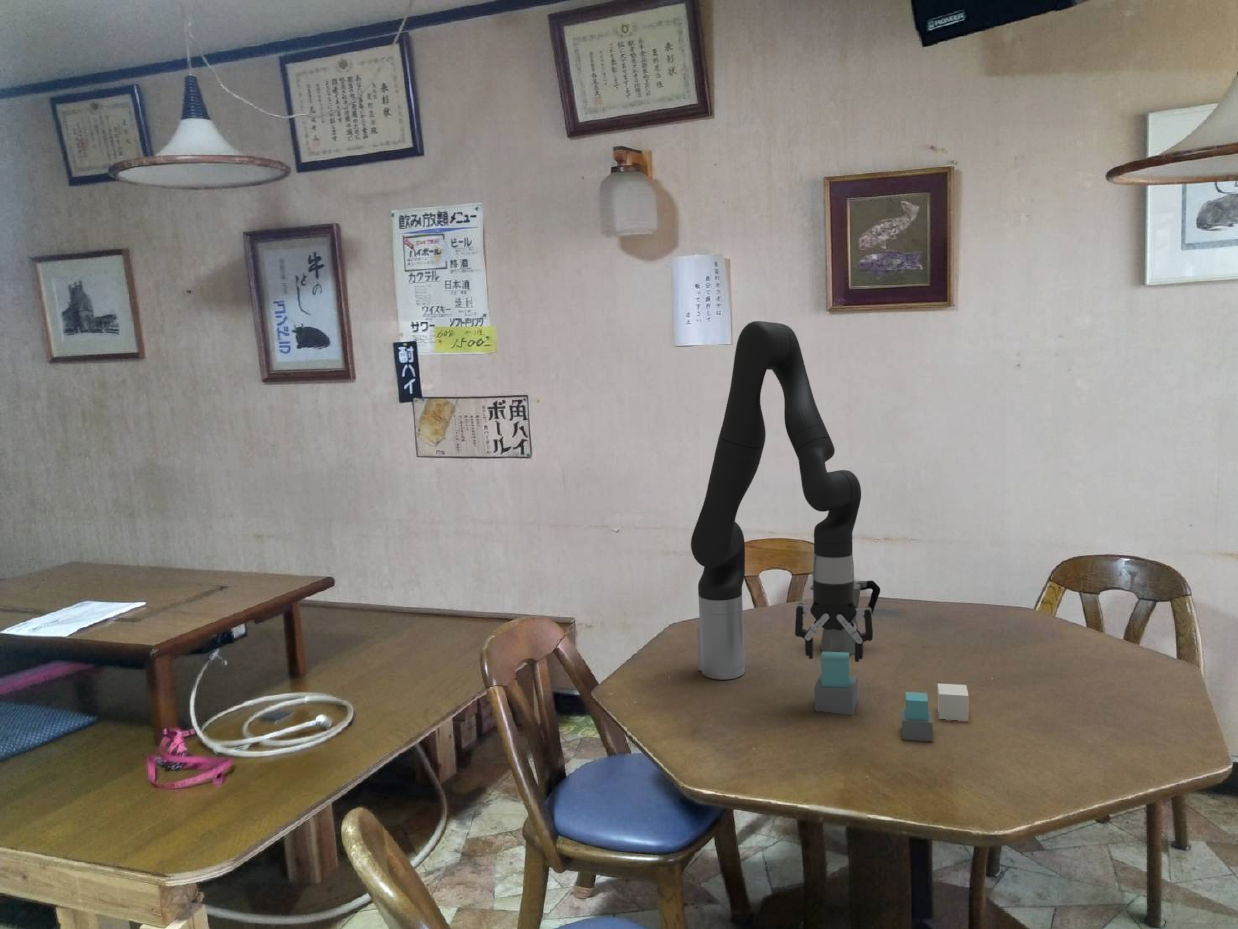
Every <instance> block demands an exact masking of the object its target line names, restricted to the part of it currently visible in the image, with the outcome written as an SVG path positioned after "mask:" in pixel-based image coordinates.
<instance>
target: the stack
mask: <svg viewBox="0 0 1238 929" xmlns="http://www.w3.org/2000/svg"><path fill="white" fill-rule="evenodd" d="M928 697H929V696H928V693H927V692H916V691H915V692H912V691H911V692H910V691H905V708H901V738H902V741H903V739H904V740H905V741H915V740H916V742H917V741H918V742H928V741H933V725H934V724H933V723H934V722H933V717H932V716H933V715H932V710H929V699H928Z"/></svg>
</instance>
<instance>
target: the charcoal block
mask: <svg viewBox="0 0 1238 929" xmlns="http://www.w3.org/2000/svg"><path fill="white" fill-rule="evenodd" d="M813 691H814V711H815V710H816V711H815V712H819V711H823V712H822V713H828V712H830V713H829V714H837V713H838V714H839V715H849V716H853V715H854V713H855V710H856V707H857V704H858V701H857V700H858V699H859V696H858V694H859V693H858V676H857V675H856V676H852V675H850V679H849V688H846V687H826V686H822V675H821V673H820V674H819V677H818V678H817V681H816V682H815V685H814V690H813ZM855 706H856V707H855ZM853 712H854V713H853Z"/></svg>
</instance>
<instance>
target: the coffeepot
mask: <svg viewBox="0 0 1238 929" xmlns="http://www.w3.org/2000/svg"><path fill="white" fill-rule="evenodd" d="M809 590H812V591H813V584H812V585H811V586H810V587H809ZM865 590H872V591H871V594H870V599H869V602H868V604H867V606H869V607H871V612H872V615H873V614H874V611H875V607H876V604H877V602H878V599H879V596H880V594H881V588H880V586H879V585H878V584H877V583H876V582H875V581H874V580H857V581H855V580H854V605H855V607H856V608H859V603H860V595H861V591H865ZM852 621H853V622H854V624H855V625H856V627H857V628H858V630H859V623H858V621H857V615H856V616H855V617H854V619H853V620H852ZM859 631H860V630H859ZM821 635H822V636H821V641H820V642H821V644H820V650H822V652H844V653H849V656H853V655H854V656H855V640H854V638H853V637H852V636H851V635H850V634H849V633H848V632H847V630H846V629H843V630H842V631H840V630H835V629H831V630H825V629H824V628H823V629H822V634H821Z"/></svg>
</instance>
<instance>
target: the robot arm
mask: <svg viewBox="0 0 1238 929" xmlns="http://www.w3.org/2000/svg"><path fill="white" fill-rule="evenodd" d="M767 370H770V371H771V372H772V373H773V374H774V376H776V379H777V381H778V382H779V384H780V387H781V390H782V393H783V398H784V399H783V400H784V413H783V414H784V415H783V416H784V426H785V430H786V433H787V436H788V439H789V441H790V444H791V446H792V448H793V451H794V453H795V455H796V457H797V460H798V466H799V474H800V481H801V488H802V493H803V496H804V498H805V500H806V502H807V504H808V505H809V506H810V507H811V508H812V509H813V510H815V511H817V512H822V513H823V512H824V513H825V512H828V513H827V516H825V518H824V519H823V520H822V521H820V522H818V523H816V524H815V526H814V530H813V560H812V573H811V575H812V585H813V590H812V605H806V604H805V605H804V603H801V602H799V603H798V604H797V606H796V610H795V626H794V635H795V636H796V637H797V638H802V639H804V649H805V650H804V652H805V655H806V657H808V659H809V660H814V636H815V635H816V634H817V633H818V632H819V630H820V629H821V628H824V629H825V630H831V629H835V630H840V631H842V630H843V629H846V630H847V632H848V633H849V634H850V635H851V636H852V637H853V638H854V640H855V654H854V662H855V663H859V662H860V660H863V657H864V643H865V642H870V641H872V640H873V638H874V630H873V629H874V628H873V614H872V612H871V607H869V606H868V605H866V606H865V607H863V608H862V607H858V608H856V607H855V605H854V581H855V564H854V557H853V532H854V528H855V525H856V522H857V516H858V512H859V508H860V504H861V500H862V488H861V487H862V486H861V483H860V480H859V479H858V477H857V476H856V474H854V473H853V472H852V471H851V470H847V469H846V470H845V469H841V470H839V469H838V470H834V471H827V467H826V462H828V461H830V459H832V458H833V456H834V455H835V446H834V444H833V441H832V438H831V437H830V434H829V432H828V430H827V427H826V425H825V423H824V421H823V418H822V416H821V414H820V411H819V409H818V407H817V406H818V405H817V404H816V401H815V398H814V395H813V390H812V387H811V384H810V380H809V376H808V372H807V370H806V365H805V361H804V358H803V354H802V349H801V345H800V342H799V340H798V337H797V335H796V333H795V331H794V330H793V329H792V327H790V326H789V325H786V324H784V323H778V322H772V321H761V320H754V321H751V322H749V323H747V324H746V325H744V326H743V329H742V330H741V331H740V334H739V335H738V339H737V342H736V347H735V352H734V358H733V366H732V374H731V381H730V382H731V383H730V387H729V388H730V389H729V393H728V396H727V401H726V402H727V403H726V407H725V411H724V415H723V420H722V424H721V428H720V432H719V435H718V439H717V444H716V446H715V452H714V455H713V461H712V466H711V470H710V475H709V479H708V484H707V489H706V493H705V497H704V501H703V502H702V503H703V505H702V507H701V510H700V512H699V516H698V518H697V520H696V523H695V526H694V529H693V532H692V536H691V539H690V550H691V553H692V555H693V558H694V560H695V561H696V562H697V564H699V565H700V566H702V567H703V571H702V575H701V576H700V578H699V580H698V584H697V591H698V592H697V593H698V610H699V611H698V613H699V626H697V628H696V642H697V643H696V645H697V665H698V666H697V669H698V671H701V674H702V675H703V676H704V677H707V678H709V679H712V680H721V681H722V680H732V679H737V678H740V677H741V676H743V675H744V674H745V671H746V667H745V639H744V638H745V636H744V610H743V609H744V606H743V605H744V604H743V585H744V581H745V577H746V575H745V574H746V547H745V546H746V545H745V544H746V543H745V535H744V532H743V530H742V528H741V526H740V525H739V523H738V522H736V518H737V514H738V510H739V507H740V505H741V503H742V501H743V499H744V497H745V495H746V493H747V491H748V490H749V488H750V485H751V484H752V482H753V480H754V477H755V476H756V474H757V472H758V468H759V465H760V463H761V459H762V454H763V451H764V447H765V443H766V438H767V437H766V432H767V431H766V426H765V420H764V415H763V411H762V404H761V392H762V388H763V383H764V379H765V376H766V374H767V373H766V372H767ZM808 613H810V614H811V615H812V616H813V617H814V619H815V620H814V621H813V622H812V624H811V625H810V626H809V627H808V629H804V626H803V625H804V618H806V617H807V616H808ZM857 615H858V616H859V617H860V620H861V621H864V627H865V628H864V629H865V630H864V631H865V632H863V633H862V632H861V631H860V630H858V628H859V627H858V628H857V627H856V625H855V624H854V622H853V621H852V620H853V619H854V617H855V616H856V617H857Z"/></svg>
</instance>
